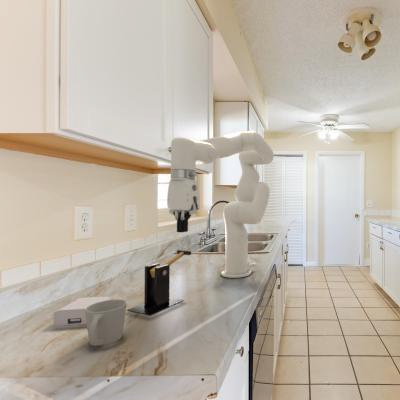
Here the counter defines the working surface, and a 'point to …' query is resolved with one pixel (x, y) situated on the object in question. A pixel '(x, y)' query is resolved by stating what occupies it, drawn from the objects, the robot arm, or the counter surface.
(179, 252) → the tap lever
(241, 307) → the counter surface
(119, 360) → the counter surface
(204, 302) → the counter surface
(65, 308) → the charger
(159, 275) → the bracket
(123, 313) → the cup
